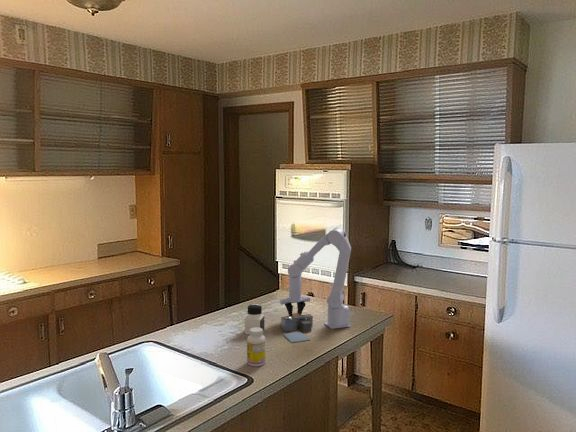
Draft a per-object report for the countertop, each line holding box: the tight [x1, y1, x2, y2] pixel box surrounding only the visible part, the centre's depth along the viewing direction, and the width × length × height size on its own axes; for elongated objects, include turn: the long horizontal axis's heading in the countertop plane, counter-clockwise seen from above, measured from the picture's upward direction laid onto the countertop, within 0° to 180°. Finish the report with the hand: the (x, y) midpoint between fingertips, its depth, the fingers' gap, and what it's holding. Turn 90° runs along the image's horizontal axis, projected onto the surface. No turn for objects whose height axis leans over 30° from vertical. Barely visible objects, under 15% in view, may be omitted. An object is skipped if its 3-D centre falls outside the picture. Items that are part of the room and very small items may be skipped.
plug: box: [292, 312, 312, 333], centre depth 218 cm, size 4×15×4 cm, turn 21°
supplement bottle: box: [246, 327, 266, 367], centre depth 177 cm, size 7×7×13 cm
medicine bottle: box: [243, 303, 265, 336], centre depth 209 cm, size 7×7×12 cm
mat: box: [282, 331, 310, 344], centre depth 204 cm, size 8×10×1 cm
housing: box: [280, 313, 314, 333], centre depth 215 cm, size 14×5×6 cm, turn 111°
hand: (294, 318), depth 225 cm, fingers closed on plug, 4 cm apart
